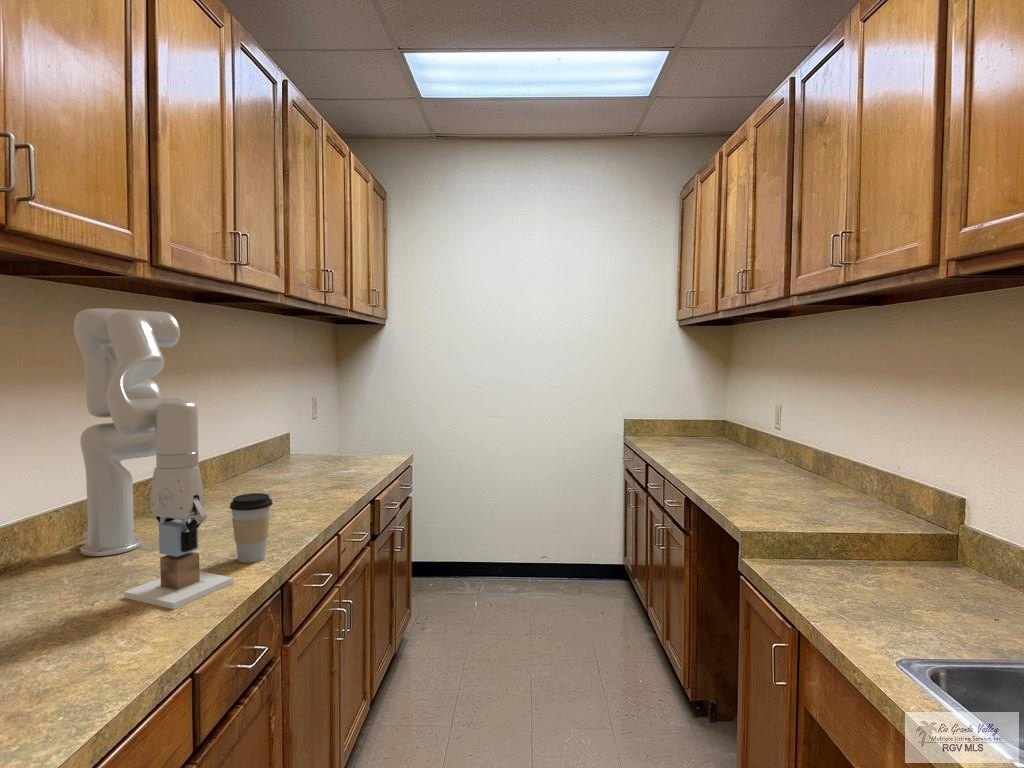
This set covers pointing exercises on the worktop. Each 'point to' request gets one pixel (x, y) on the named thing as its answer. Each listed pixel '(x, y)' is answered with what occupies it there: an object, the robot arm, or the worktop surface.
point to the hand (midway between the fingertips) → (179, 547)
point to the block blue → (172, 538)
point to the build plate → (177, 591)
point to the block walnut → (179, 570)
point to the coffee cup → (251, 525)
